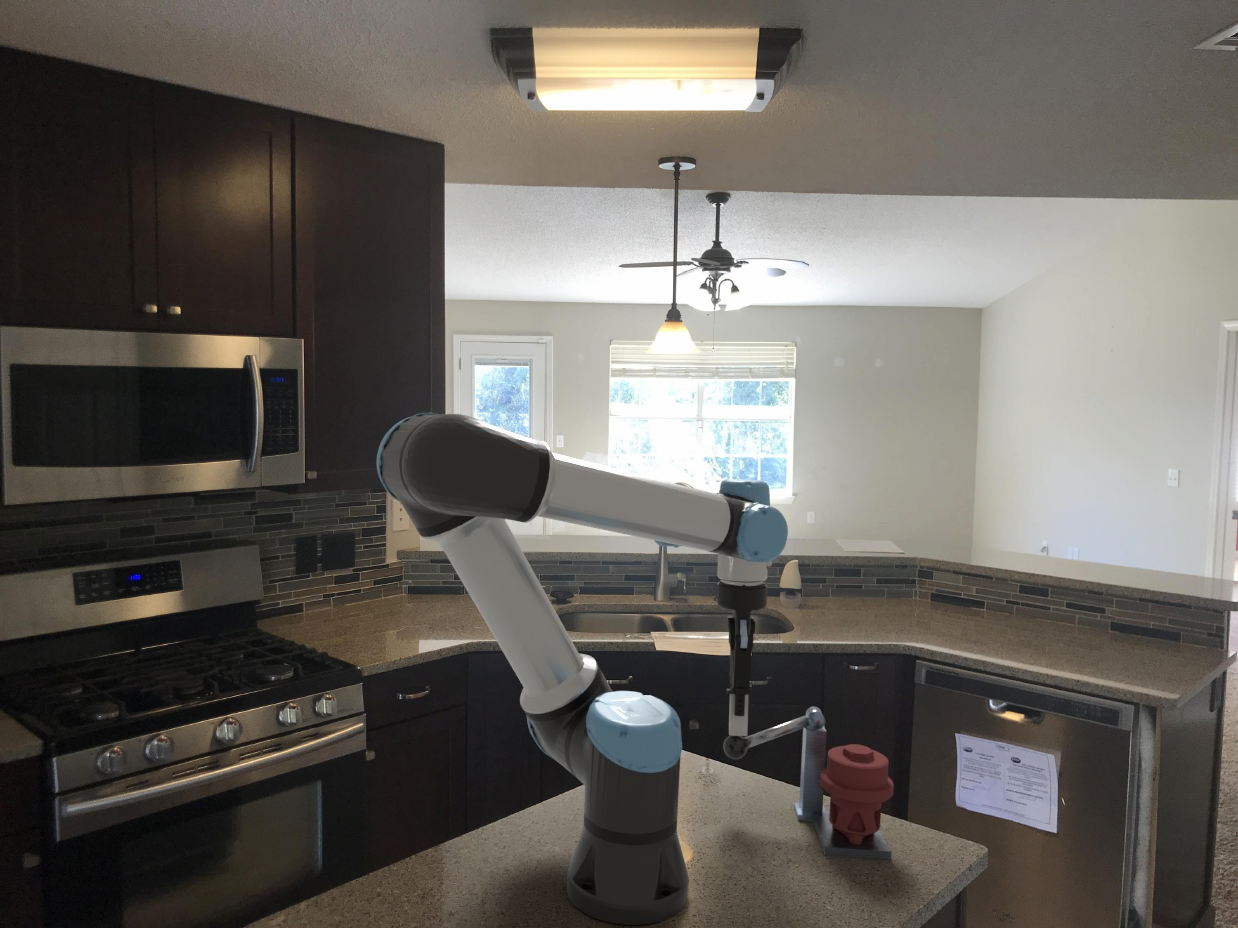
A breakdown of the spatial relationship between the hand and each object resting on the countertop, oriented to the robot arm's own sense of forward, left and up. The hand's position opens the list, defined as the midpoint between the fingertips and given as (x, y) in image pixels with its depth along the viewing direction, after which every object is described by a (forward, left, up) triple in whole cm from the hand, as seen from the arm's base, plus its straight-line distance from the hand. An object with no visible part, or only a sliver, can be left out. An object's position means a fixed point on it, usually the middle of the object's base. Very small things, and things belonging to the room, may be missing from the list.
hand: (737, 733), depth 129 cm
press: (+15, -5, -12) cm, 20 cm away
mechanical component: (+16, -8, -11) cm, 21 cm away
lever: (+6, 0, -1) cm, 6 cm away
